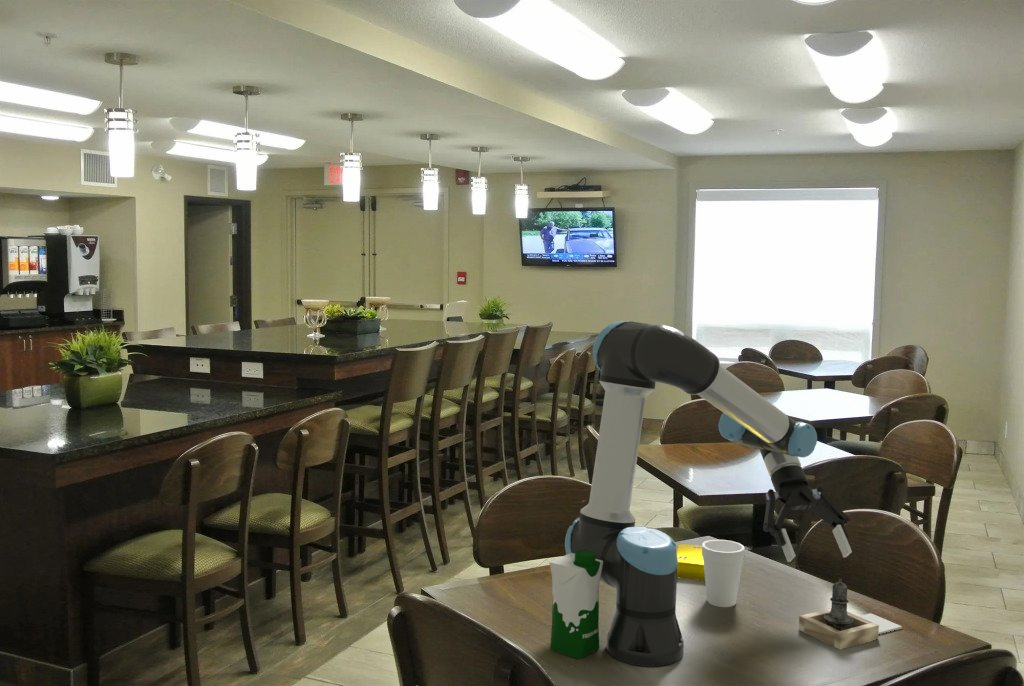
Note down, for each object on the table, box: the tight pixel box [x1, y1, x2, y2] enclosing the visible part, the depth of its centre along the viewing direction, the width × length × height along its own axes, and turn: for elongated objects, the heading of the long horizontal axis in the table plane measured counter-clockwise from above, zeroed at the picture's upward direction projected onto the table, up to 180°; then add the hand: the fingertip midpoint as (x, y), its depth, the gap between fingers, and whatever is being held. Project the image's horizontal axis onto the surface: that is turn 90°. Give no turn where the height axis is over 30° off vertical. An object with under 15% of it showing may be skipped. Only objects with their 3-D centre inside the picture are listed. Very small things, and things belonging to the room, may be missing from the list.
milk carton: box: [548, 550, 603, 660], centre depth 179 cm, size 9×9×20 cm
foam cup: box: [701, 539, 746, 608], centre depth 205 cm, size 10×9×13 cm
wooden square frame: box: [798, 608, 879, 651], centre depth 188 cm, size 11×11×3 cm
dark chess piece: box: [824, 578, 854, 631], centre depth 187 cm, size 6×6×12 cm
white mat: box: [858, 613, 903, 636], centre depth 193 cm, size 8×8×1 cm
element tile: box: [676, 543, 705, 581], centre depth 226 cm, size 15×15×5 cm
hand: (819, 556), depth 195 cm, fingers open, 13 cm apart
